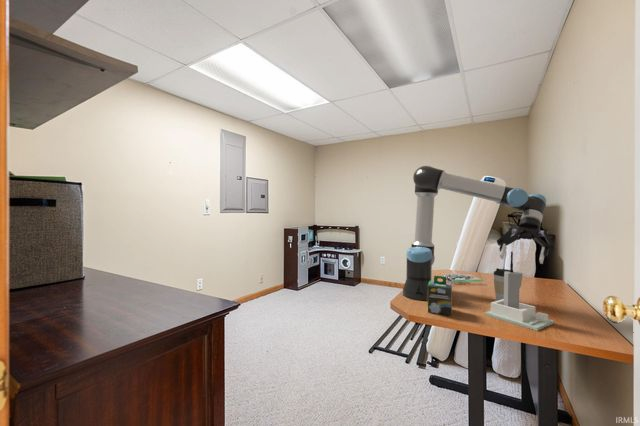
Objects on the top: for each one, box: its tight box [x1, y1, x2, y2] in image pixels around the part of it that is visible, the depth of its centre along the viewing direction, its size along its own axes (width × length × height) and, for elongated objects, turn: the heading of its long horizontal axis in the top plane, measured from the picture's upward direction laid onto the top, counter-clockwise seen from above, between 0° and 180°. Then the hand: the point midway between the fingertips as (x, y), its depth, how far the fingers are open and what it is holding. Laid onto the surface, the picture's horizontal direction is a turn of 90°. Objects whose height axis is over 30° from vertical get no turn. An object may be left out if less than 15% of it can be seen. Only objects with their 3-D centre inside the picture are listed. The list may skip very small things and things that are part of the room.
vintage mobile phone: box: [504, 251, 523, 309], centre depth 112 cm, size 4×5×25 cm
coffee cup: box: [492, 268, 510, 301], centre depth 133 cm, size 9×9×15 cm
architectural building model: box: [484, 299, 555, 332], centre depth 111 cm, size 18×14×5 cm
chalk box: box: [427, 275, 453, 317], centre depth 119 cm, size 9×9×15 cm
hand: (520, 259), depth 117 cm, fingers open, 13 cm apart
